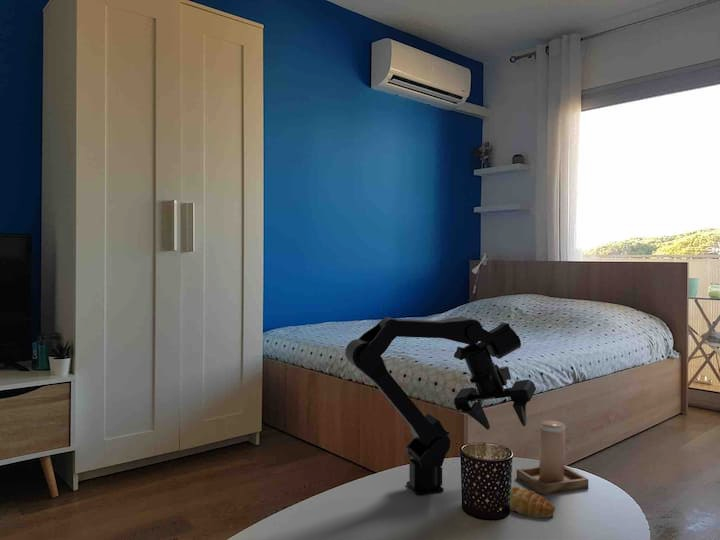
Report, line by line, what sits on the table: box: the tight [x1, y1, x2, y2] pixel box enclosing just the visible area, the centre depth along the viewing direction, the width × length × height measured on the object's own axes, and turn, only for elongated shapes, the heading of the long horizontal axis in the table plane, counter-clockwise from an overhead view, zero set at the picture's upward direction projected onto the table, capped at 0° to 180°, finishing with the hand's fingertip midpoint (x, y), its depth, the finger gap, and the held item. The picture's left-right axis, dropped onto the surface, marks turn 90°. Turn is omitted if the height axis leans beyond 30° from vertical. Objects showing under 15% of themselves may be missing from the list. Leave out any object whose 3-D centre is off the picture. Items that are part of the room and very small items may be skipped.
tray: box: [516, 465, 589, 496], centre depth 129 cm, size 12×10×2 cm
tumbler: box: [538, 419, 566, 484], centre depth 129 cm, size 6×6×13 cm
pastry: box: [509, 486, 556, 519], centre depth 116 cm, size 9×7×4 cm
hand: (506, 427), depth 132 cm, fingers open, 9 cm apart
